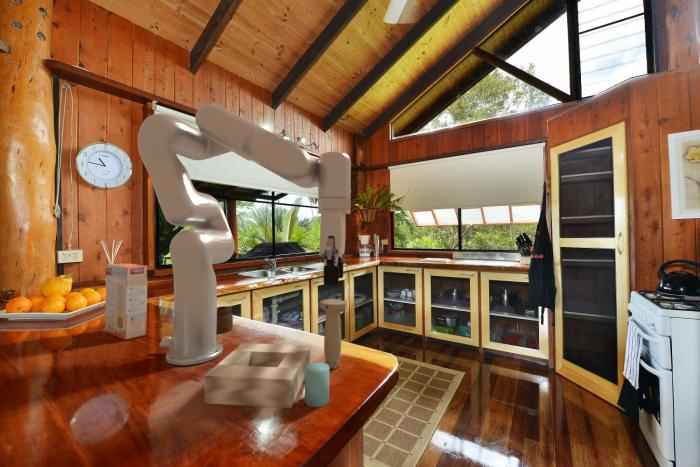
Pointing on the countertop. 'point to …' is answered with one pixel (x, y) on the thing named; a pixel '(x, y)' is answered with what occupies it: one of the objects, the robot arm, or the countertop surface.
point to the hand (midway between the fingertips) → (334, 281)
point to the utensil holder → (224, 319)
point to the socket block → (258, 376)
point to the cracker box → (126, 300)
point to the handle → (332, 331)
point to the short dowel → (317, 384)
